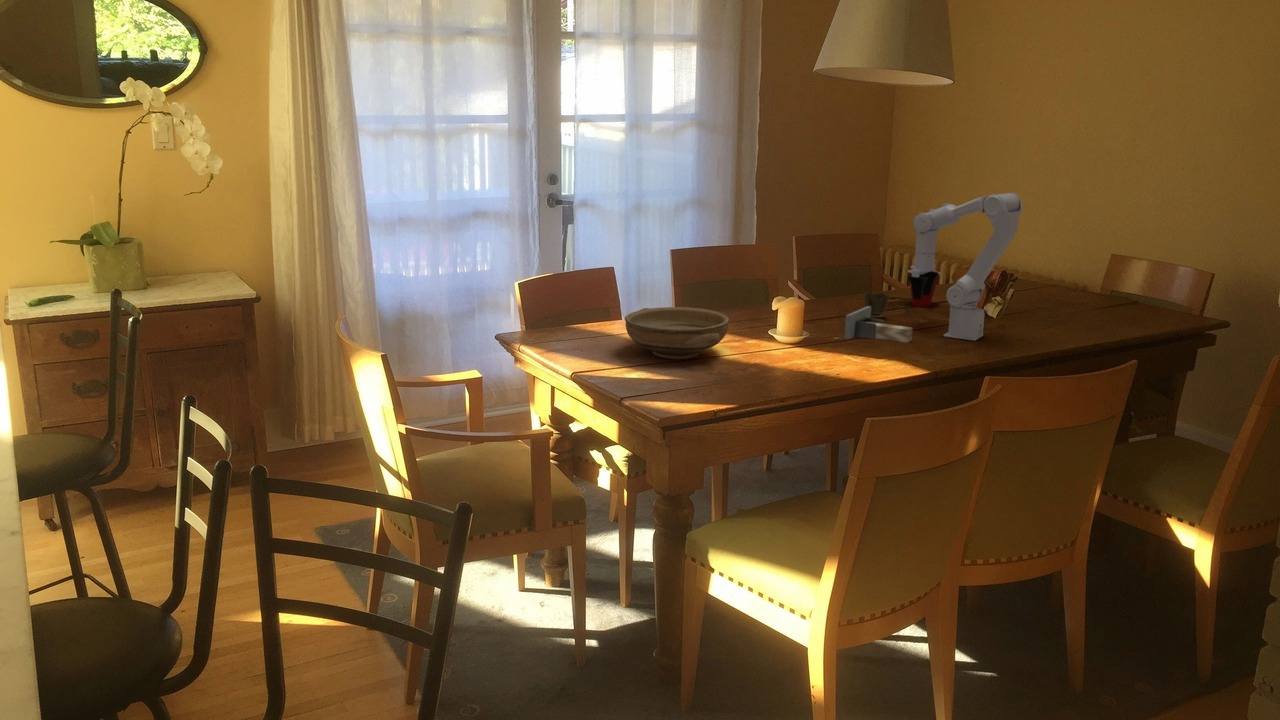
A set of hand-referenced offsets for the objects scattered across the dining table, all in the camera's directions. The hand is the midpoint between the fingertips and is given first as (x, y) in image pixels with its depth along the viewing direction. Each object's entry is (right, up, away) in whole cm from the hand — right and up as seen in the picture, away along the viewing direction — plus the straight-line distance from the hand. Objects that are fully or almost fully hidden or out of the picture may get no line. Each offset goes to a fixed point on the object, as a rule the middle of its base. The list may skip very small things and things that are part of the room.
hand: (921, 297), depth 308 cm
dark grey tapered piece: (-11, -6, +14) cm, 19 cm away
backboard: (-21, -11, -6) cm, 24 cm away
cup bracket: (-17, -12, -8) cm, 23 cm away
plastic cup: (+9, -1, +34) cm, 35 cm away
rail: (-13, -13, -11) cm, 21 cm away
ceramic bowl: (-76, -17, -28) cm, 82 cm away
